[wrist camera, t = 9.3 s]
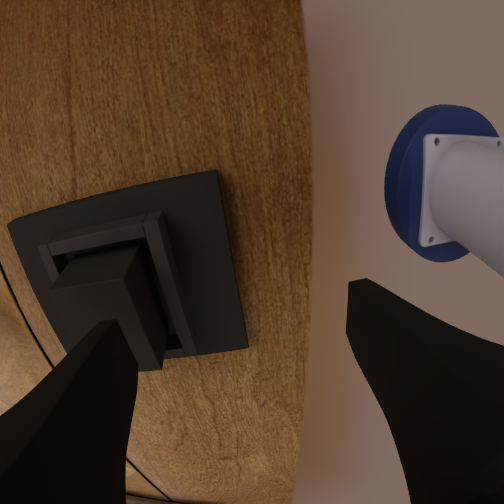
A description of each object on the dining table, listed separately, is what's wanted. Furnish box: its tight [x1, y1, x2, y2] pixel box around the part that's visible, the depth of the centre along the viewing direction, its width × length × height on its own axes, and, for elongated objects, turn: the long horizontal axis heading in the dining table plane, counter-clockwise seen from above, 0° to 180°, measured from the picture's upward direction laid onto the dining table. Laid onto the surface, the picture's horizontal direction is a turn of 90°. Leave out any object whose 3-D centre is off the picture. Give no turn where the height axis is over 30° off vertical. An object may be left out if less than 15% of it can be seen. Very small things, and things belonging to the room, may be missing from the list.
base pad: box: [7, 170, 249, 359], centre depth 18 cm, size 14×12×2 cm
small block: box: [48, 242, 169, 372], centre depth 16 cm, size 4×6×4 cm
